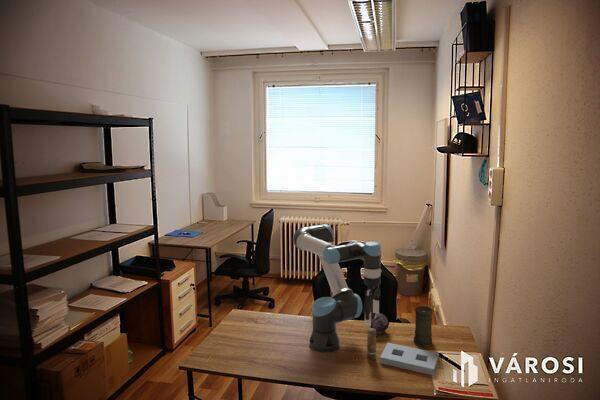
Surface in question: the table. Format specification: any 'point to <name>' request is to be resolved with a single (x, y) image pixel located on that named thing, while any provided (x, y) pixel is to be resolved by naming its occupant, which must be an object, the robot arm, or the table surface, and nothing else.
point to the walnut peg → (371, 343)
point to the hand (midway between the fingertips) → (372, 319)
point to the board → (409, 358)
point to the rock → (379, 323)
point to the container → (423, 326)
